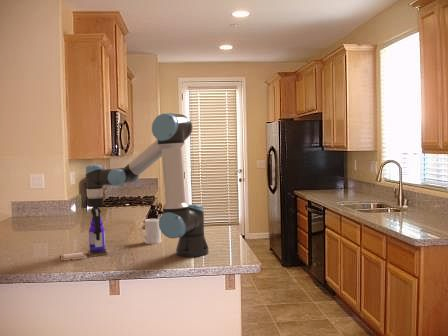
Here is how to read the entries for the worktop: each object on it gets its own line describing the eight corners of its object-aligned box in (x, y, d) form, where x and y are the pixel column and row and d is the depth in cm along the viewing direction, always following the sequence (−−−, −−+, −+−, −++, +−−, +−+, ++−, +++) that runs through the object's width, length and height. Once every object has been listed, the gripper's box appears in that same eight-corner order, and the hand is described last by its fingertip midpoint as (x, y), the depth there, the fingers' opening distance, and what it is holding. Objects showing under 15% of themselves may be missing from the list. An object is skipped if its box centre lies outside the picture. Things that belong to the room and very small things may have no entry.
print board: (86, 257, 211) (86, 256, 211) (61, 260, 207) (61, 258, 207) (85, 252, 221) (85, 251, 221) (61, 255, 217) (61, 253, 217)
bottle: (106, 248, 221) (104, 212, 220) (103, 251, 215) (102, 214, 214) (91, 249, 220) (89, 213, 220) (88, 251, 215) (86, 215, 214)
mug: (142, 245, 232) (141, 222, 232) (137, 242, 240) (136, 220, 239) (163, 242, 238) (163, 220, 237) (158, 239, 246) (157, 217, 245)
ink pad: (107, 254, 215) (107, 251, 215) (90, 256, 212) (89, 253, 212) (105, 250, 223) (105, 247, 223) (88, 252, 221) (88, 249, 221)
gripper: (105, 198, 209) (107, 248, 210) (101, 194, 227) (103, 240, 228) (88, 200, 206) (91, 250, 207) (85, 196, 224) (87, 242, 225)
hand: (97, 245), depth 218 cm, fingers closed on bottle, 6 cm apart
